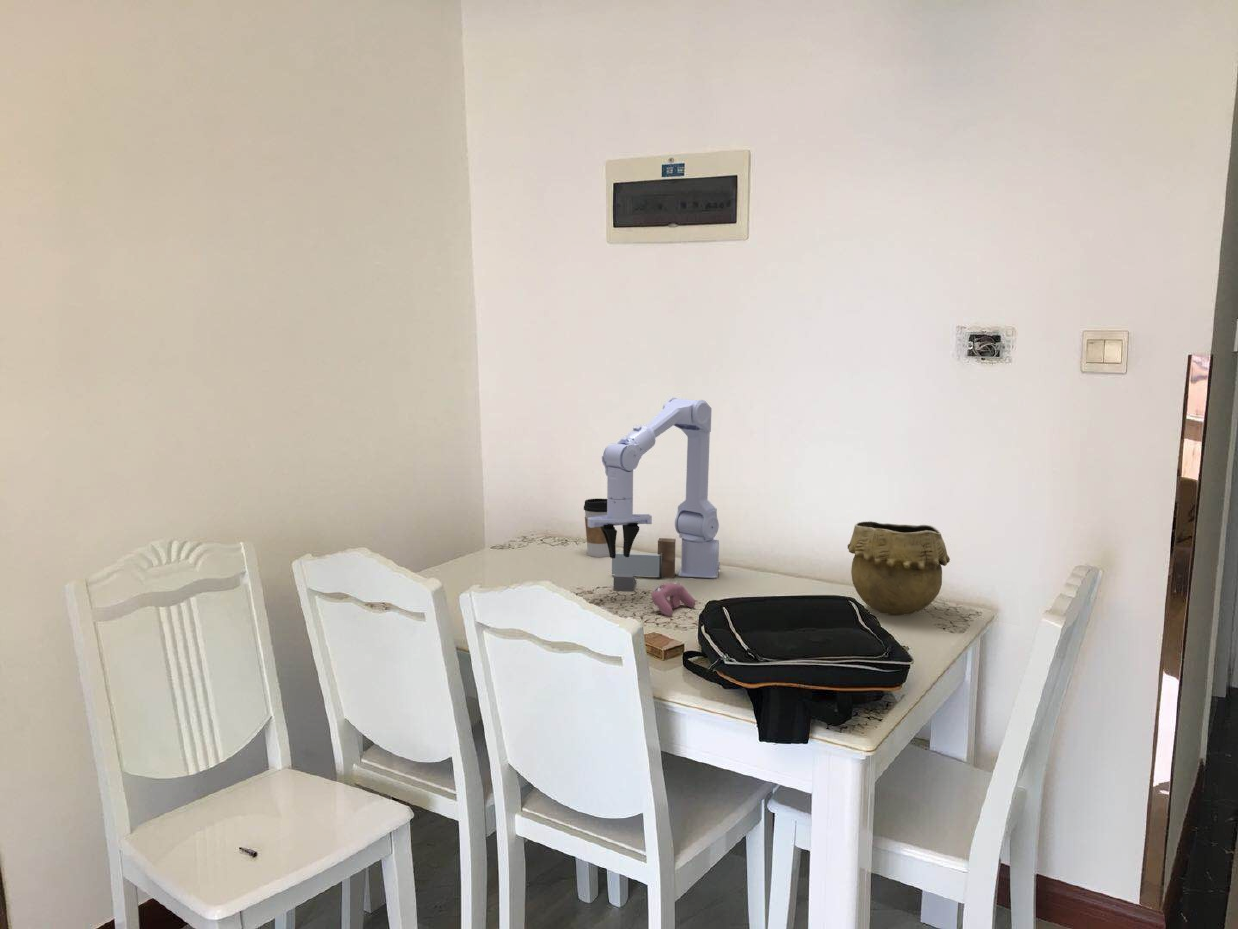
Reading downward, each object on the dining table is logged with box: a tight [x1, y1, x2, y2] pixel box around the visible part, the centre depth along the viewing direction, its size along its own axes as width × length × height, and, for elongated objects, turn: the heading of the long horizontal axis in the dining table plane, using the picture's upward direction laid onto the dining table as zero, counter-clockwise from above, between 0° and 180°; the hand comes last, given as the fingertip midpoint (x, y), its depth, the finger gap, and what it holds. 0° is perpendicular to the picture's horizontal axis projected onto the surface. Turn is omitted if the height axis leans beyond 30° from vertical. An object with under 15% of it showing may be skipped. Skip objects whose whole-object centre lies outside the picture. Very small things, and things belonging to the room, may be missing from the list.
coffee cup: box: [583, 498, 610, 558], centre depth 257 cm, size 8×8×15 cm
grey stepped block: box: [612, 574, 638, 592], centre depth 227 cm, size 4×7×4 cm, turn 172°
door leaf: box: [611, 551, 660, 578], centre depth 235 cm, size 12×2×5 cm, turn 81°
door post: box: [657, 537, 677, 579], centre depth 236 cm, size 4×5×9 cm
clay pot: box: [847, 520, 951, 617], centre depth 207 cm, size 21×21×20 cm
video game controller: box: [651, 581, 696, 617], centre depth 209 cm, size 10×5×7 cm, turn 141°
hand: (619, 556), depth 216 cm, fingers open, 3 cm apart
